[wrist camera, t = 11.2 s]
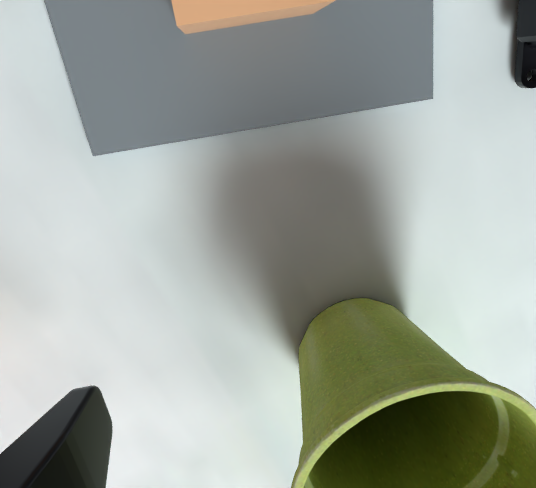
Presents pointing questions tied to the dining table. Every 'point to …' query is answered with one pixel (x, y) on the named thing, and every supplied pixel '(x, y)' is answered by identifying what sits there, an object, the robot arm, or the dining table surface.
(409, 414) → the plant pot
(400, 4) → the slate mat
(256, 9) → the clay brick
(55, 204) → the dining table surface
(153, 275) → the dining table surface
